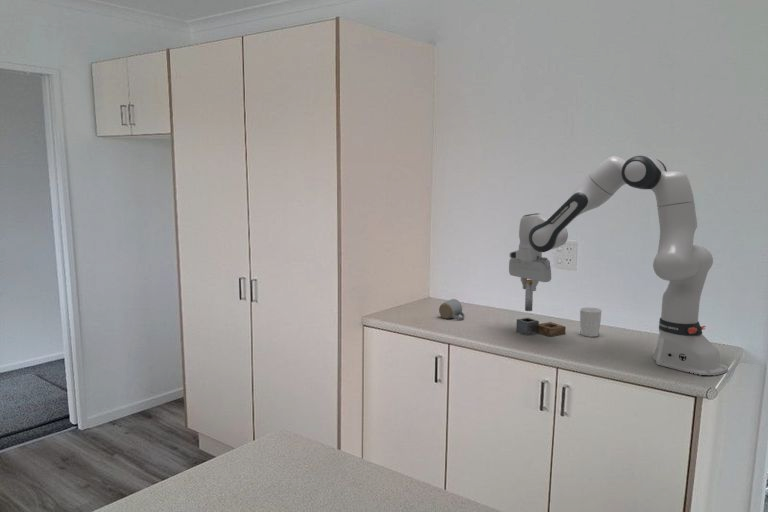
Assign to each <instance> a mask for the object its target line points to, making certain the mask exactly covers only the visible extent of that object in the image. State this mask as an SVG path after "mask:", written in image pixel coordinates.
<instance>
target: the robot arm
mask: <svg viewBox="0 0 768 512" xmlns="http://www.w3.org/2000/svg"><path fill="white" fill-rule="evenodd" d="M625 185H628V186H629V187H631V188H635V189H638V190H651V191H652V193H654V195H655V199H656V200H655V201H656V207H657V214H658V222H659V223H658V225H659V240H658V241H659V242H658V249H657V253H656V256H655V257H654V258H653V262H652V267H653V271H654V273H655V274H656V276H657V277H658V278H659V279H661V280H664V281H669V282H668V285H667V286H666V287H667V288H666V289H665V291H664V292H663V294H662V301H661V313H660V314H661V315H660V317H659V322H658V332H659V334H658V338H657V339H658V340H657V345H656V348H655V350H654V354H653V356H652V359H653V360H654V361H655V364H656V365H658V366H662V367H666V368H670V369H674V370H677V371H681V372H686V373H689V372H690V374H693V373H694V374H693V375H697V374H699V375H698V376H701V375H713V376H718V375H722V374H725V373H727V372H728V371H729V369H728V368H729V366H727V365H725V364H723V363H721V353H720V350H719V349H718V348H717V347H716V346H715V345H714V344H713V343H712V342H711V341H710V340H709V339H708V338H707V337H706V336H705V335H704V334H703V330H706V325H703V326H701V324H700V321H699V312H700V311H699V310H700V302H701V296H702V292H703V289H704V285H705V282H706V279H707V276H708V273H709V272H710V269H711V268H712V266H713V263H714V258H713V255H712V253H711V252H710V251H709V249H707V248H706V247H704V246H700V245H697V244H694V238H695V237H694V236H695V233H696V230H697V228H698V218H697V212H696V211H697V210H696V206H695V205H696V204H695V198H694V194H693V190H692V186H691V183H690V179H689V177H688V176H687V174H685V172H682V171H679V170H678V171H677V170H672V171H668V170H667V167H666V165H665V164H664V163H663V162H662V161H660V160H659V159H657V158H655V157H652V156H648V155H647V156H646V155H635V156H633V157H630V158H629V159H627V160H625V159H624V158H622V157H620V156H617V155H612V156H609V157H607V158H606V159H604V160H603V161H602V162H600V163H599V165H597V166H596V167H595V168H594V169H593V170H592V171H591V172H590V173H589V174H588V175H587V176H586V177H585V178H584V180H583V181H582V182H581V184H579V185H578V187H577V188H576V189H575V191H574V192H573V193H572V194H571V196H570V197H568V199H567V200H566V201H565V202H564V203H563V204H562V205H561V206H560V207H559V208H558V209H557V210H556V211H555V212H554V213H553V214H552V215H551V216H550V217H549V218H548V219H547V218H546V217H545V216H543V215H542V214H541V213H538V212H537V213H536V212H535V213H530V214H525V215H523V216H522V217H521V218H520V221H519V231H518V238H519V244H518V249H517V250H514V251H511V252H509V254H508V255H509V260H508V272H509V275H510V276H513V277H517V278H520V282H521V284H522V290H526V280H532V283H533V284H532V286H530V291H533V292H536V291H537V286H538V284H539V282H542V283H549V282H551V280H552V269H551V268H552V267H551V261H550V259H548V257H543V253H546V252H549V251H551V250H554V249H557V248H560V247H561V246H563V245H565V244H566V242H567V240H568V237H569V233H568V230H567V228H566V227H567V226H568V225H569V224H571V222H573V221H574V220H575V219H576V218H577V217H579V216H580V215H582V214H584V213H586V212H588V211H591V210H594V209H597V208H598V207H600V206H602V205H604V203H606V202H607V201H609V199H610V198H611V197H612V196H614V195H615V193H616V192H618V190H620V189H621V188H622V187H623V186H625Z"/></svg>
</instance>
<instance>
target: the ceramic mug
mask: <svg viewBox="0 0 768 512" xmlns="http://www.w3.org/2000/svg"><path fill="white" fill-rule="evenodd" d="M438 311H439V315H440V316H441V318H443V319H446V320H448V319H455V320H457V321H463V320H464V319H465V317H466V315H465V313H464V312H463V305H462V303H461V302H460V301H459V300H458V299H456V298H452V299H449V300H447V301H445V302H442V303H441V305H440V306H439V307H438Z"/></svg>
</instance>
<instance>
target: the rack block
mask: <svg viewBox="0 0 768 512" xmlns="http://www.w3.org/2000/svg"><path fill="white" fill-rule="evenodd" d="M566 328H567V327H566V325H562V324H558V323H555V322H552V321H549V322H543V323H539V326H538V333H537V334H541V335H543V336H547V337H550V338H551V337H556V336H562V335H566Z"/></svg>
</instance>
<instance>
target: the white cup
mask: <svg viewBox="0 0 768 512" xmlns="http://www.w3.org/2000/svg"><path fill="white" fill-rule="evenodd" d="M579 309H580V310H579V312H580V313H579V317H580V319H579V320H580V321H579V323H580V325H579V326H580V334H581V335H582V336H584V337H590V338H591V337H593V338H594V337H598V336H599V335H600V327H601V320H602V312H603V311H602V309H600V308H596V307H588V306H586V307H585V306H584V307H581V308H579Z"/></svg>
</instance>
